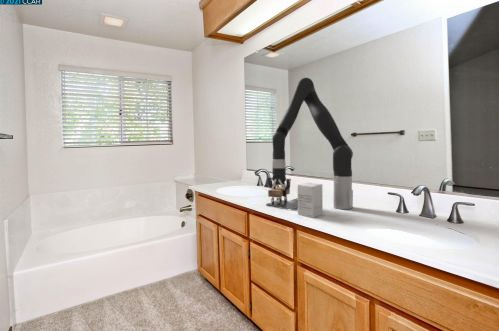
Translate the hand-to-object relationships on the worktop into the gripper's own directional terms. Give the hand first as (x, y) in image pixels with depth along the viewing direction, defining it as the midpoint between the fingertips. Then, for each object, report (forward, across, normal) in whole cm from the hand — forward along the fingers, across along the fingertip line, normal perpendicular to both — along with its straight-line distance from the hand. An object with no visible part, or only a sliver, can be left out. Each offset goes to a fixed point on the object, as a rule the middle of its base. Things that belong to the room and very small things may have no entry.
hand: (279, 196), depth 158 cm
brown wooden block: (-1, 0, 0) cm, 1 cm away
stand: (+5, -11, +2) cm, 12 cm away
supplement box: (+5, -24, +12) cm, 27 cm away
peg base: (+5, 0, 0) cm, 5 cm away
